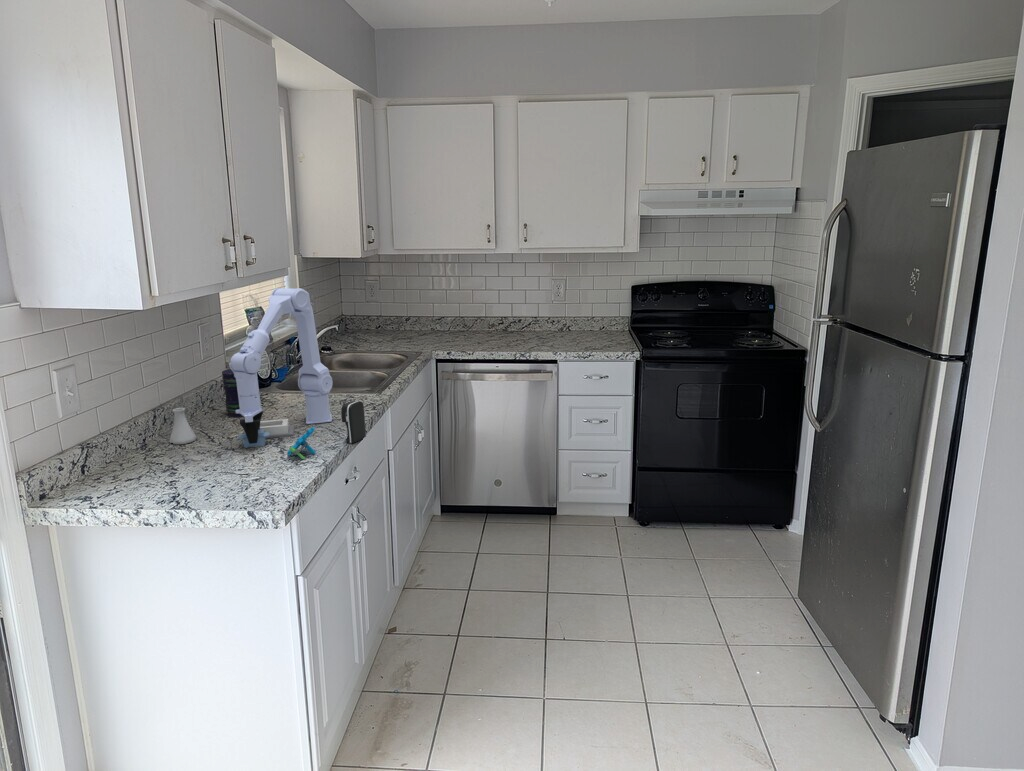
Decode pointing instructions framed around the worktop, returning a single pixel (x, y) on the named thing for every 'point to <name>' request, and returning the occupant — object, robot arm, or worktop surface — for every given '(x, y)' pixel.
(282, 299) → the robot arm
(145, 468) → the worktop surface
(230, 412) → the storage jar
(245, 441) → the block
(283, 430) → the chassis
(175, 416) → the flask
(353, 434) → the battery charger
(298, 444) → the gear
